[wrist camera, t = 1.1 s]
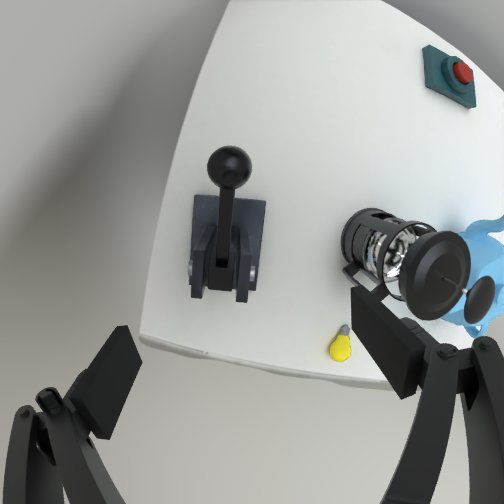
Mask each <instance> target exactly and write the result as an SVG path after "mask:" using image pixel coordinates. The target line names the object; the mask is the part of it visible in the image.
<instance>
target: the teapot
mask: <svg viewBox="0 0 504 504" xmlns="http://www.w3.org/2000/svg"><path fill="white" fill-rule="evenodd" d="M503 230H504V215H503V216H502V217H501V218H500V219H497V220H479V221H475V222H473V223H472V224H470V225H469V226H468V227H467V229H466V231H465V232H461V233H458V235H460V236H461V237H462V238H463V239H464V240H465V242H466V243H467V246H468V248H469V251H470V256H471V271H470V277H469V281H468V284H467V287H466V290H469V289H471V288H472V286H473V285H474V284H475V282H476V281H477V280H478V279H480V278H481V277H483V276H490V277H492V278H493V280H494V282H495V296H494V300H493V303H492V305H491V308H490V309H489V311H488V313H487V314H486V315H485V317H484V318H483V319H482V320H481V321H479V322H478V323H476V324H469V323H467V322H466V321H465V318H464V305H465V301H466V294H465V293H463V295H462V297H461V298H460V300H459V301H458V303H457V304H456V305H455V306H454V307H453V308H452V309H451V310H450V311H449V312H448V313H447V314H445V315H444V316H442V317H440V318H441V319H443V320H445V321H448V322H451V323H455V324H456V325H463V326H464V328H465V329H466V331H467V332H468V333H469V335H470V336H471V337H473V338H477V337H480V336H483V335H484V334H485V333H486V332H487V330H488V327H489V322H490V321H491V320H493V319H495V318H496V317H498V316H499V315H500V314H501V313H503V312H504V245H503V244H501V243H500V242H499V241H497V240H496V239H494V238H493V237H491V236H489V235H487V234H488V233H490V232H501V231H503ZM479 325H481V329H480V331H478V330H477V329H476V327H475V326H479Z"/></svg>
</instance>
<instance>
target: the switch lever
mask: <svg viewBox="0 0 504 504" xmlns="http://www.w3.org/2000/svg"><path fill="white" fill-rule="evenodd" d="M207 171H208V175H209V178H210V179H211V181H212V182H213V183H214V184H215V185H216V186H218V187H220V195H219V210H218V226H217V245H216V250H211V255H210V261H209V267H208V289H210V290H221V291H232V285H233V276H234V264H235V252H231V251H229V249H230V238H231V227H232V216H233V206H234V196H235V189H236V188H239V187H241V186H242V185H244V184H245V183H246V182H247V181H248V179H249V177H250V175H251V172H252V163H251V159H250V157H249V156H248V154H247V153H246V152H245V151H244V150H243V149H241V148H239V147H236V146H223V147H221V148H219V149H217V150H216V151H215V152H213V154H212V155H211V156H210V158H209V160H208V164H207Z"/></svg>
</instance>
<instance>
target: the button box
mask: <svg viewBox="0 0 504 504" xmlns="http://www.w3.org/2000/svg"><path fill="white" fill-rule="evenodd" d="M423 57H424V68H425V84H426V87H428V88H430V89H432V90H434V91H437V92H439V93H441V94H443V95H445V96H447V97H449V98H450V99H452V100H454V101H456V102H458V103H460V104H462V105H463V106H465V107H467V108H474V107H476V96H475V86H474V77H473V80H472V81H471V82H468V83H465V84H463V83H460V82H459V81H458V79H457V78H456V77H455V75H454V72H453V65H455V64H457V63H459V62H463V60H461V59H460V58H458V57H456V56H449V55H447V54H446V53H444V52H442V51H440V50H439V49H437V48H435V47H433V46H431V45H428V46H426V47H424V48H423ZM471 71H472V74H473V70H472V69H471Z"/></svg>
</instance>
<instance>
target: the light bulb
mask: <svg viewBox="0 0 504 504" xmlns="http://www.w3.org/2000/svg"><path fill="white" fill-rule="evenodd" d="M349 331H350V328H349V327H348V325H345V326H343V327H342V329H341V332H340V334H339V335H338V337H337V339H336V340H335V341H334V342H333V344H332V345H331V347H330V356H331V358H332V359H333V360H334V361H336V362H343V361H345V360H347V359H348V358H349V357H350V355H351V346H350V342H349V340H350V337H349Z"/></svg>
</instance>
